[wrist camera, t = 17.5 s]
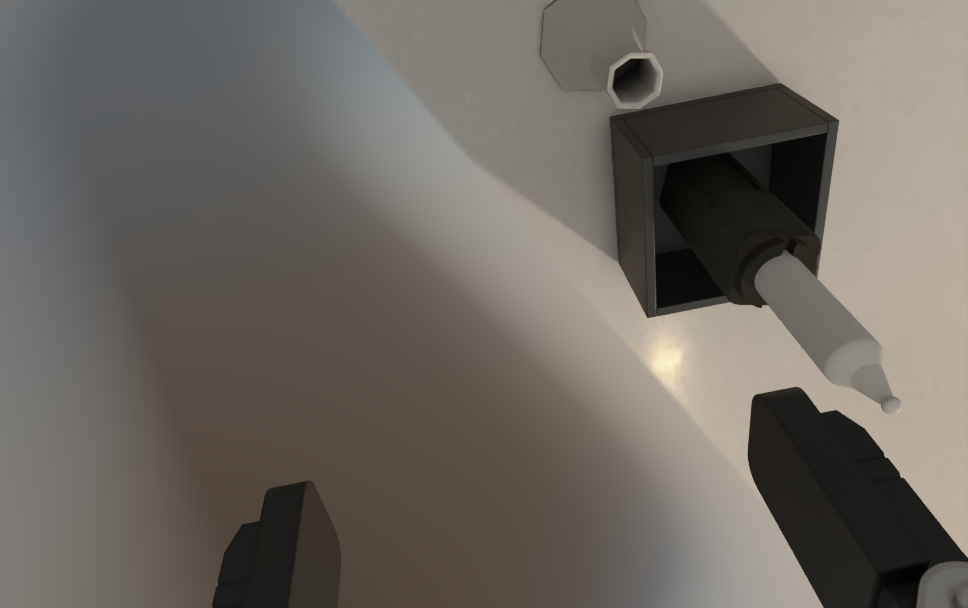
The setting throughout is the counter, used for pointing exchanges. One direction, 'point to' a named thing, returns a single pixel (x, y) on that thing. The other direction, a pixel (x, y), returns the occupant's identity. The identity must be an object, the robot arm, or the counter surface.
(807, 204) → the bin
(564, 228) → the counter surface
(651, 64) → the flask
